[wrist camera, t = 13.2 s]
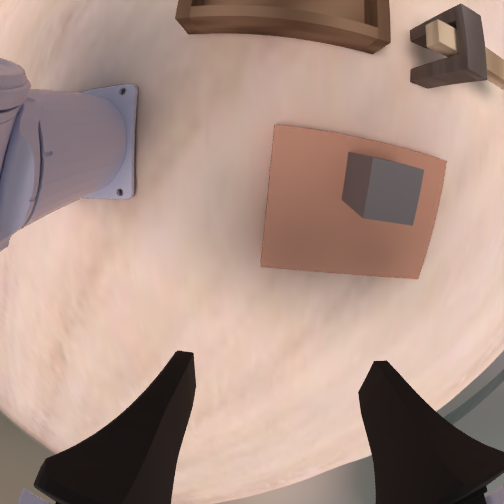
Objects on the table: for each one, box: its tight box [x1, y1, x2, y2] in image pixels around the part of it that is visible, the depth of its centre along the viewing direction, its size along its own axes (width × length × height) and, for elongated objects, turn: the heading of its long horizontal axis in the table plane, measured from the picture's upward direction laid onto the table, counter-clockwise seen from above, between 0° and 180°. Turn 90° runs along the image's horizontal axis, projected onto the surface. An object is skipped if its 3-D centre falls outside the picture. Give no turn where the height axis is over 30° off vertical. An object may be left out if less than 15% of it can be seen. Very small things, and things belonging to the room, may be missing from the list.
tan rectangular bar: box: [425, 19, 504, 90], centre depth 9 cm, size 8×2×1 cm, turn 85°
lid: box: [261, 125, 447, 279], centre depth 16 cm, size 12×9×6 cm
